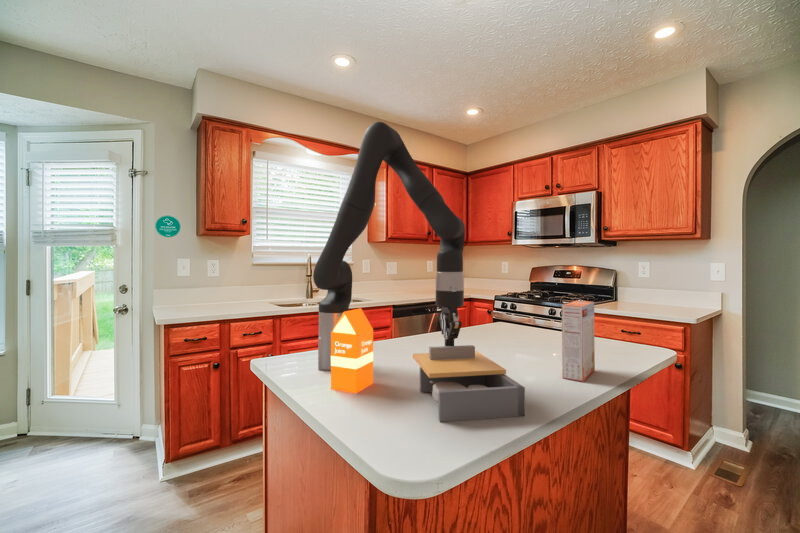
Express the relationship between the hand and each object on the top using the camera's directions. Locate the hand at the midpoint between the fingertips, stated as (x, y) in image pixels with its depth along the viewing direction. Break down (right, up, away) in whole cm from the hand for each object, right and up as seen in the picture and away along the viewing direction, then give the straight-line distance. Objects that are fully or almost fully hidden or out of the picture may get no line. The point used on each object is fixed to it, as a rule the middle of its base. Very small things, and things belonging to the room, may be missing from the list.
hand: (449, 352), depth 99 cm
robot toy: (+2, -9, -16) cm, 18 cm away
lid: (+1, -2, -6) cm, 6 cm away
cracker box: (+38, -8, +7) cm, 40 cm away
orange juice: (-26, -8, -3) cm, 27 cm away
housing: (+2, -8, -14) cm, 17 cm away
